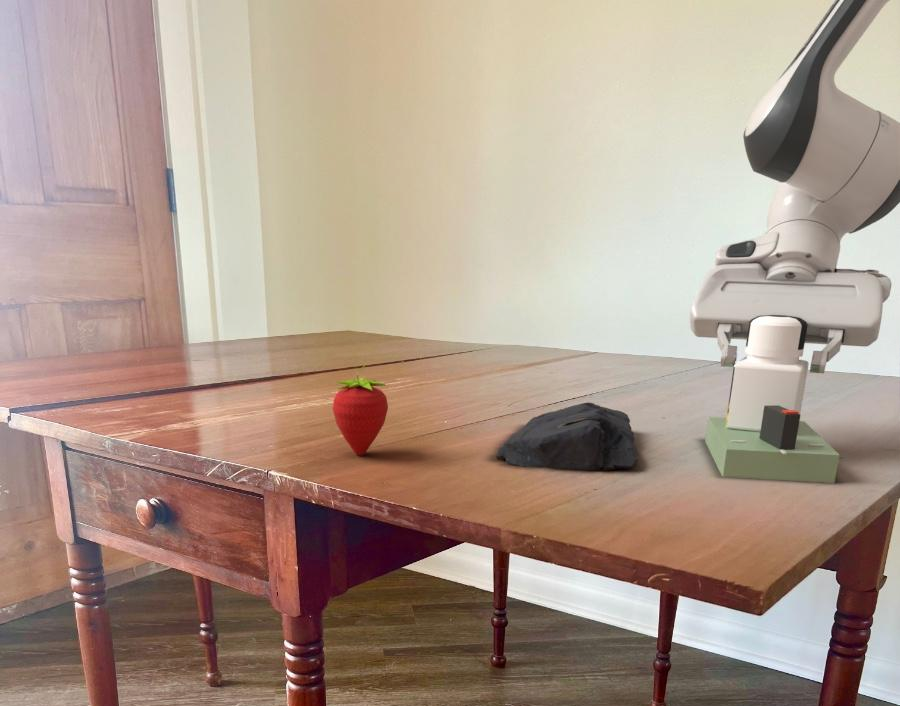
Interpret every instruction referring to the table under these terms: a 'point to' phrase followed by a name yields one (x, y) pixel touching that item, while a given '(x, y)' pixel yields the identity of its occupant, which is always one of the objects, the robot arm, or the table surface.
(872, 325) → the robot arm
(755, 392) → the medicine bottle
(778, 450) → the console
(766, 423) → the dark grey block
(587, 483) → the table surface
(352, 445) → the strawberry
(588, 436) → the dark slate chunk
